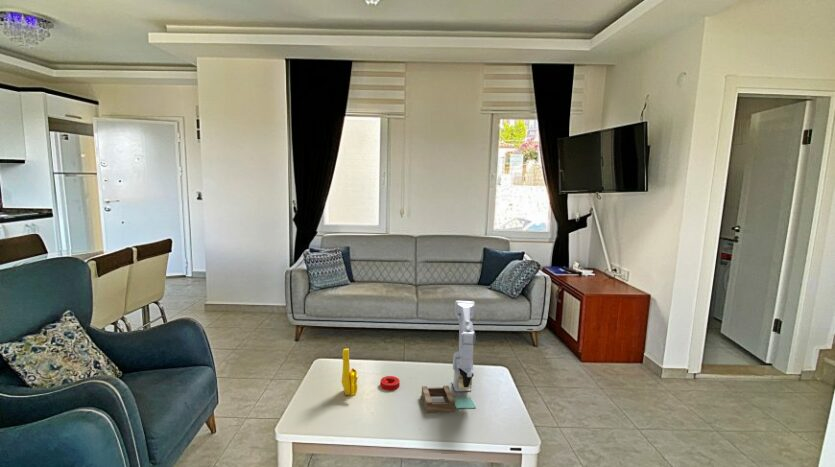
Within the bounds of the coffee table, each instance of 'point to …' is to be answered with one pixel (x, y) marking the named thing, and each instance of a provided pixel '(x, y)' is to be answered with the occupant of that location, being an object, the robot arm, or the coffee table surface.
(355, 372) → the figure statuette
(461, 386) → the maple block
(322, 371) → the coffee table surface
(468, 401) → the teal mat
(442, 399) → the slotted box
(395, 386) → the decorative ornament
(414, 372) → the coffee table surface
